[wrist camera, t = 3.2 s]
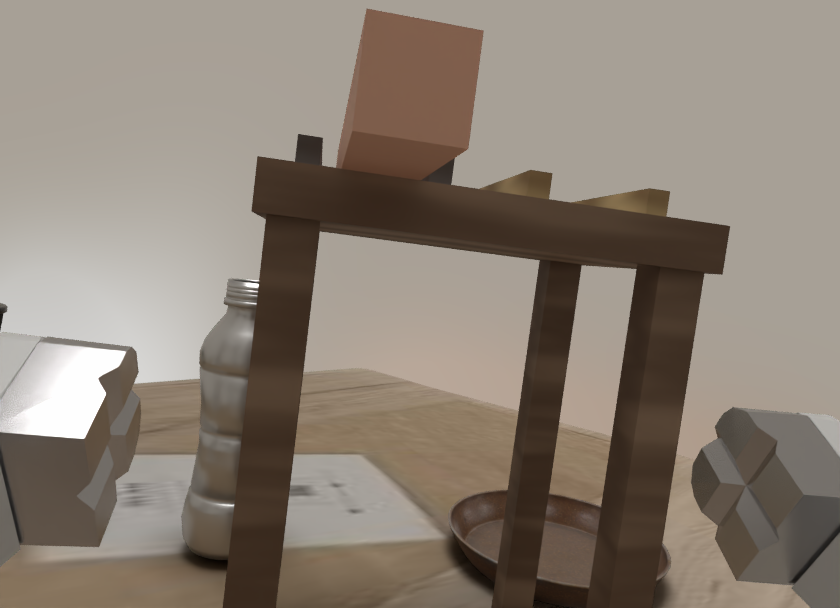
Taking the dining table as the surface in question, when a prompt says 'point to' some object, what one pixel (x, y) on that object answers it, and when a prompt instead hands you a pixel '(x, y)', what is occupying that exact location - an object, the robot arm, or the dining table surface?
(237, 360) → the plastic bottle
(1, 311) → the drinking cup
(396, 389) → the dining table surface
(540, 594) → the plant saucer
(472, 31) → the terracotta bar
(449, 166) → the walnut stool
